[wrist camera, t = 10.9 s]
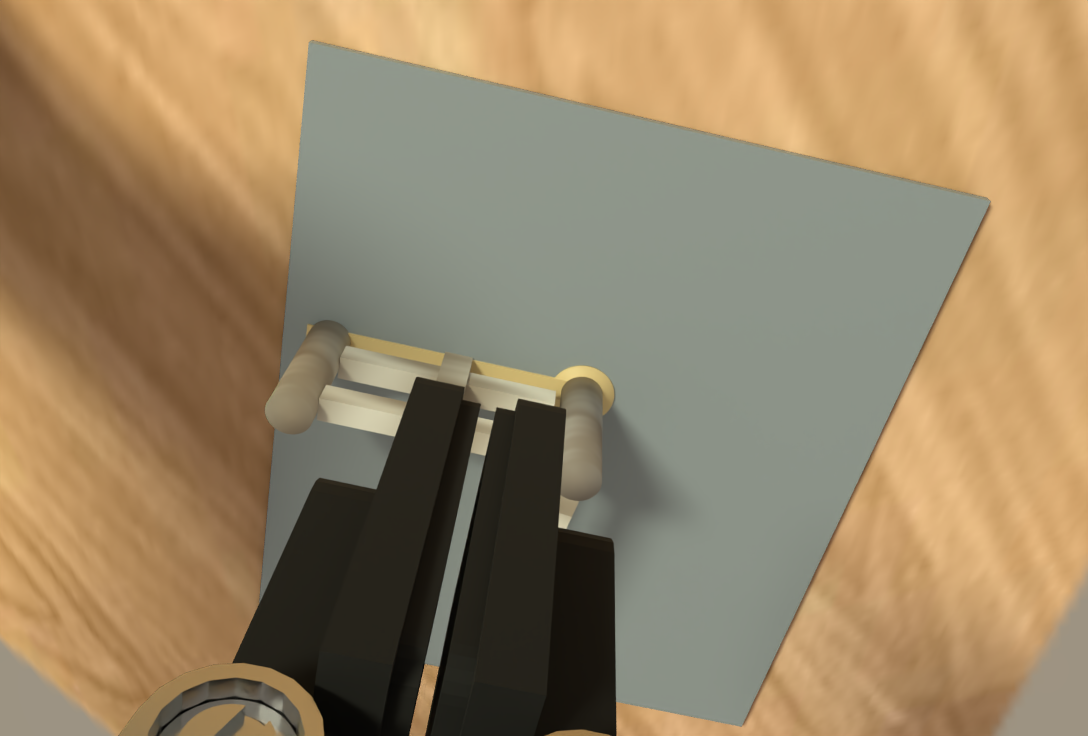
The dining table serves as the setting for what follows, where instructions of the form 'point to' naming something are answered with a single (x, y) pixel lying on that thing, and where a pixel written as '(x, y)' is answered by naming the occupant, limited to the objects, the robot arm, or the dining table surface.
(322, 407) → the fence section
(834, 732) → the dining table surface
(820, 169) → the card
